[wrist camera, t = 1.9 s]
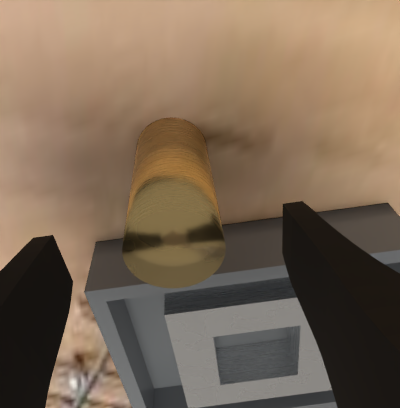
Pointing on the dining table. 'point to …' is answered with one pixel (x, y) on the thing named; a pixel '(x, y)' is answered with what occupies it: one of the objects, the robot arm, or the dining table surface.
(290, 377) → the inlet
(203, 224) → the connector
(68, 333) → the dining table surface
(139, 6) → the dining table surface
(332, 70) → the dining table surface
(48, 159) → the dining table surface
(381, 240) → the box
